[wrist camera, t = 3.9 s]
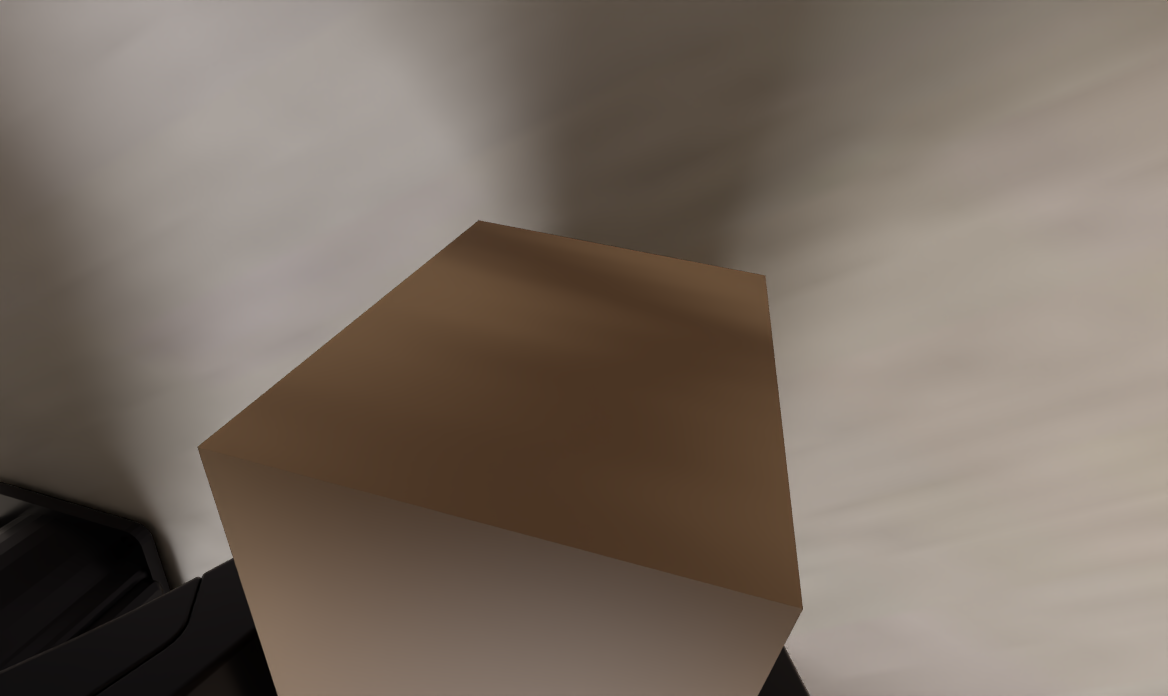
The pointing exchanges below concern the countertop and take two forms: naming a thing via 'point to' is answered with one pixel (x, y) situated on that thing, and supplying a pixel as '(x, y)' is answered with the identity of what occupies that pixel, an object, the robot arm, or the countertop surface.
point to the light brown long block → (522, 483)
